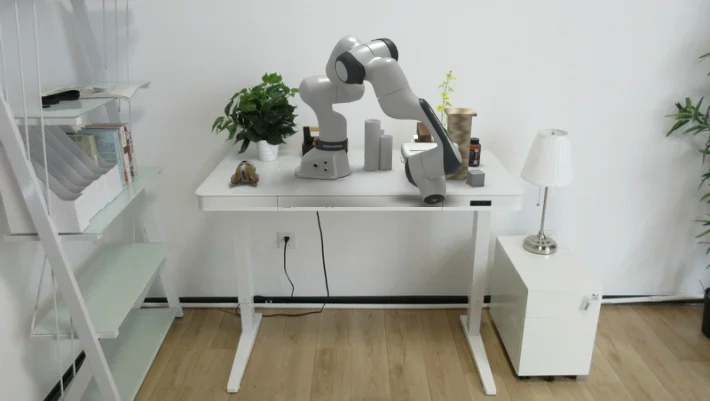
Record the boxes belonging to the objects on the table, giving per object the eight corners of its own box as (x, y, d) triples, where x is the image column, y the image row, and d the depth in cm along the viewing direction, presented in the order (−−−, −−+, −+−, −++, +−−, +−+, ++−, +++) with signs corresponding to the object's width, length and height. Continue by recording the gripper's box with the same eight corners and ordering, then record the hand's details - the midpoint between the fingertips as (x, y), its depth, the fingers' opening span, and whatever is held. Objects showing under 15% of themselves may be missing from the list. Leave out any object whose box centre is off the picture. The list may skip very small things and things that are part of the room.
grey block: (471, 186, 208) (472, 174, 206) (466, 182, 212) (467, 170, 210) (483, 185, 209) (485, 173, 207) (478, 181, 213) (479, 169, 211)
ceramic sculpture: (259, 153, 217) (257, 167, 204) (260, 174, 221) (259, 189, 207) (231, 154, 216) (228, 169, 203) (233, 175, 220) (230, 190, 206)
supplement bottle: (479, 167, 229) (481, 140, 225) (465, 166, 230) (467, 140, 226) (479, 162, 235) (481, 137, 231) (465, 162, 236) (467, 136, 232)
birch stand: (443, 179, 215) (447, 113, 206) (440, 171, 225) (444, 107, 215) (471, 179, 215) (477, 113, 205) (467, 171, 224) (472, 108, 215)
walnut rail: (419, 145, 202) (420, 135, 200) (416, 131, 220) (416, 122, 219) (430, 145, 201) (431, 135, 200) (426, 131, 220) (426, 122, 218)
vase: (365, 171, 224) (365, 123, 217) (363, 165, 231) (363, 119, 223) (392, 170, 225) (394, 122, 218) (389, 164, 232) (390, 118, 225)
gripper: (400, 170, 194) (399, 142, 202) (458, 170, 193) (454, 142, 202) (401, 158, 189) (399, 130, 197) (461, 158, 188) (457, 130, 197)
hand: (428, 136), depth 199 cm, fingers open, 8 cm apart
